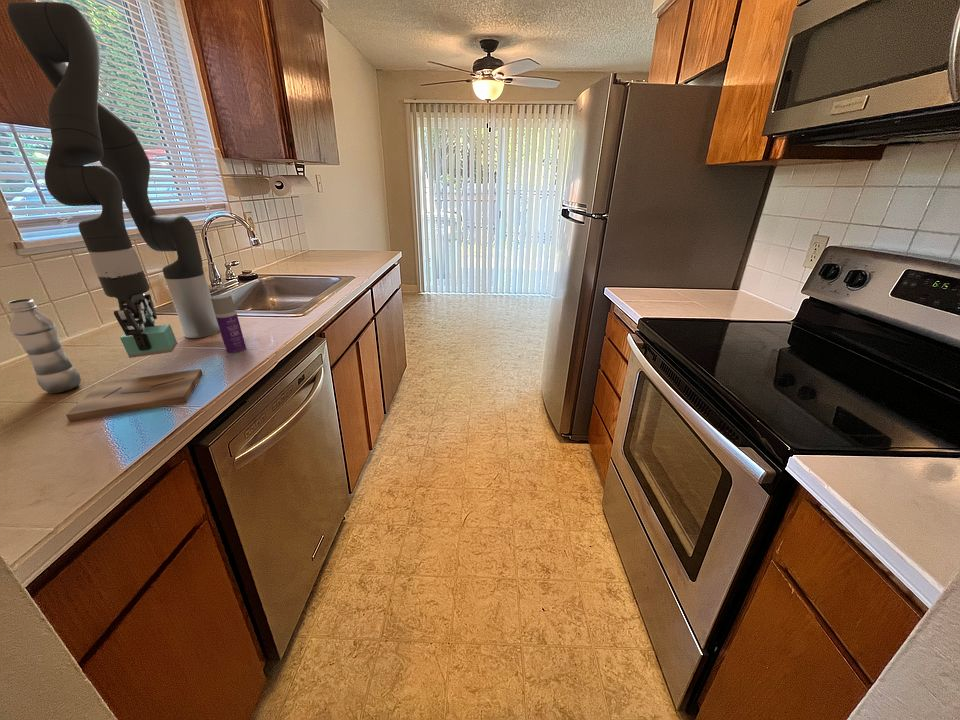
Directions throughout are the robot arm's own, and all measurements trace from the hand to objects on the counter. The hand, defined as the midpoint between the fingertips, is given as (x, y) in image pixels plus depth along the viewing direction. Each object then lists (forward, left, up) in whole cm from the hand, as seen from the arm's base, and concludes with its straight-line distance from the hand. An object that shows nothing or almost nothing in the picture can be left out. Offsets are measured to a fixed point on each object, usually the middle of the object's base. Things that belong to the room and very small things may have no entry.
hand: (150, 344), depth 91 cm
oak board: (+11, 0, -7) cm, 14 cm away
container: (-9, +15, -8) cm, 19 cm away
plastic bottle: (+1, -17, -8) cm, 19 cm away
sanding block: (0, 0, -2) cm, 2 cm away
